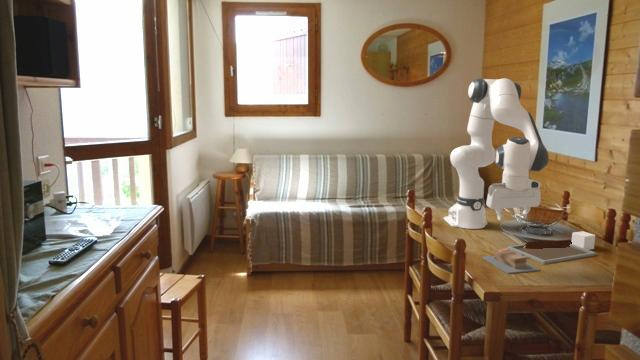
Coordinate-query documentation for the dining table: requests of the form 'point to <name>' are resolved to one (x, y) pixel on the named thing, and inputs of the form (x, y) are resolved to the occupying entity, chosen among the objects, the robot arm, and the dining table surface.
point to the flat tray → (552, 253)
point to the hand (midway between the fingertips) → (511, 219)
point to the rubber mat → (507, 268)
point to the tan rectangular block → (510, 258)
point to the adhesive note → (583, 240)
